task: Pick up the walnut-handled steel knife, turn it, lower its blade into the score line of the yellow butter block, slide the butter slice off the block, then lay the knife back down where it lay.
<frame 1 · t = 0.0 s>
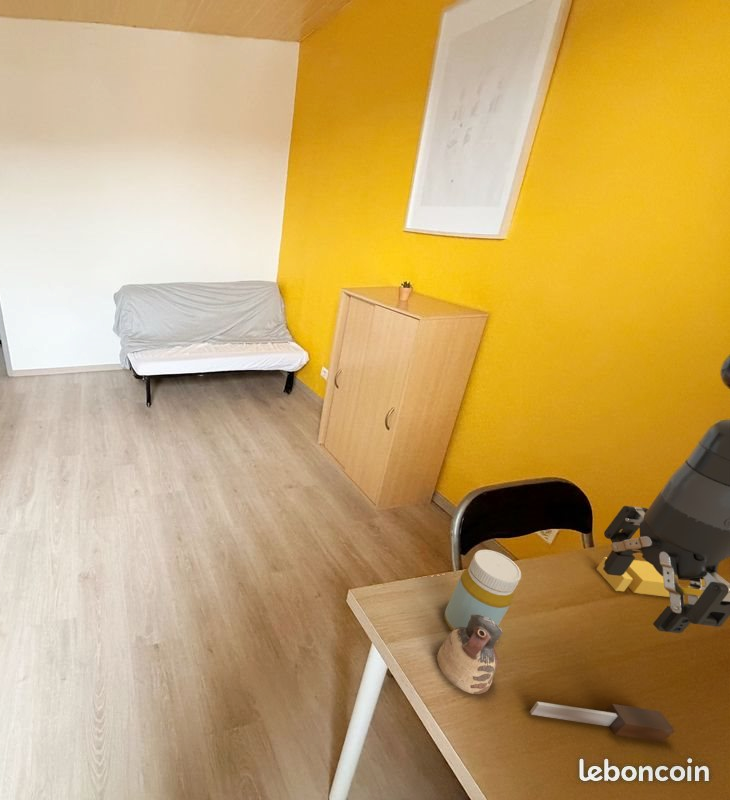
hand: (635, 599, 55), 18 cm above the table, tool pointing down, fingers open, 8 cm apart
bottle: (465, 627, 71), on the table
butter block: (638, 585, 79), on the table
knife: (605, 727, 58), on the table
butter slice: (608, 582, 79), on the table
figurine: (461, 672, 64), on the table
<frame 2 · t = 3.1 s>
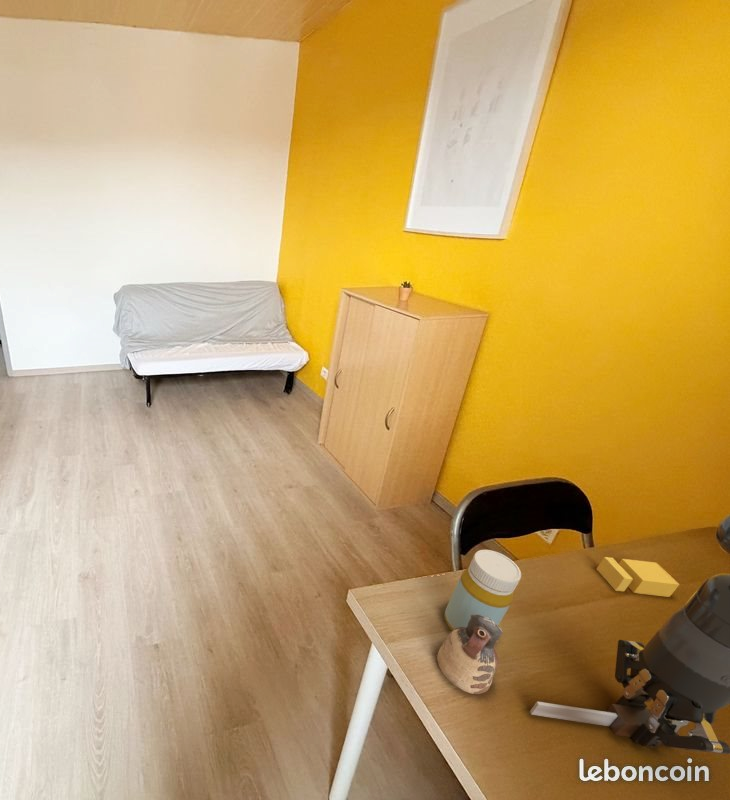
hand: (631, 728, 57), 1 cm above the table, tool pointing down, fingers closed on knife, 2 cm apart
knife: (605, 727, 58), on the table, touching gripper
everything else where it was.
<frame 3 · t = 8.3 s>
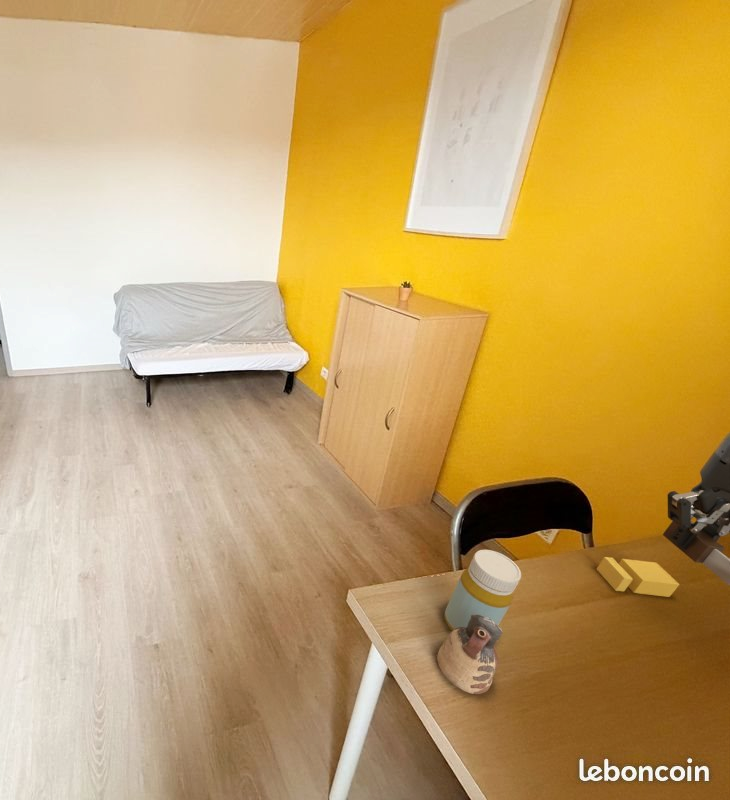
hand: (687, 545, 68), 15 cm above the table, tool pointing down, fingers closed on knife, 2 cm apart
knife: (703, 563, 66), point 14 cm above the table, touching gripper
everything else where it was.
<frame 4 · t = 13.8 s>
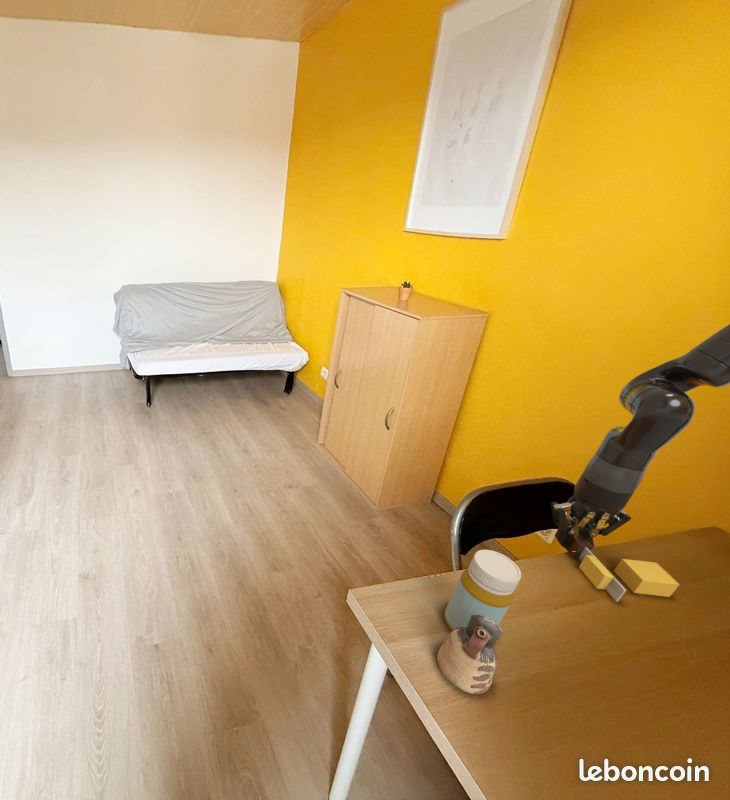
hand: (569, 545, 86), 1 cm above the table, tool pointing down, fingers closed on knife, 2 cm apart
knife: (578, 558, 84), on the table, touching butter slice, gripper
butter slice: (590, 580, 80), on the table, touching knife
everything else where it was.
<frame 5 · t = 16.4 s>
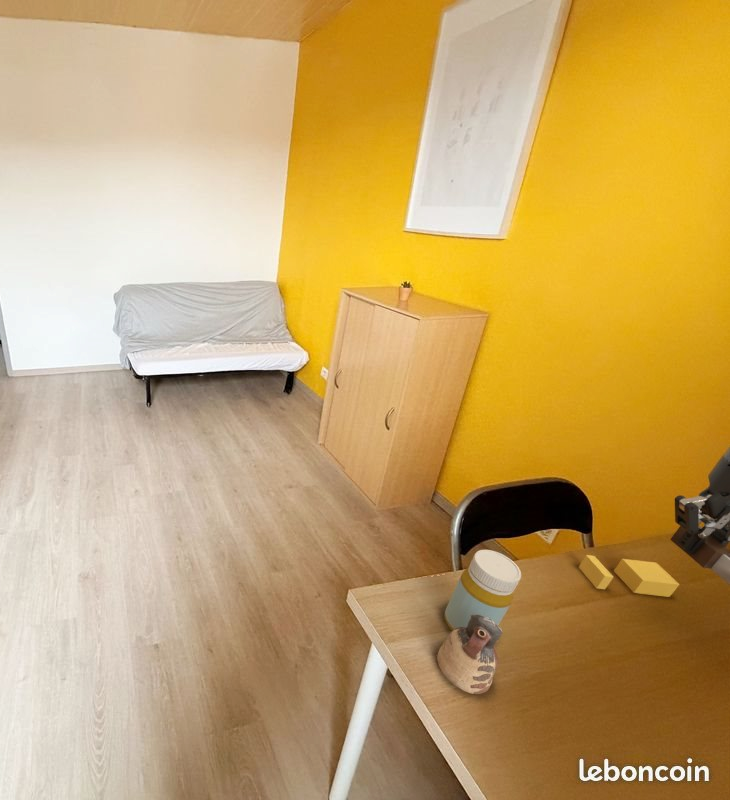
hand: (695, 551, 67), 15 cm above the table, tool pointing down, fingers closed on knife, 2 cm apart
knife: (711, 569, 65), point 14 cm above the table, touching gripper
butter slice: (589, 580, 80), on the table
everything else where it was.
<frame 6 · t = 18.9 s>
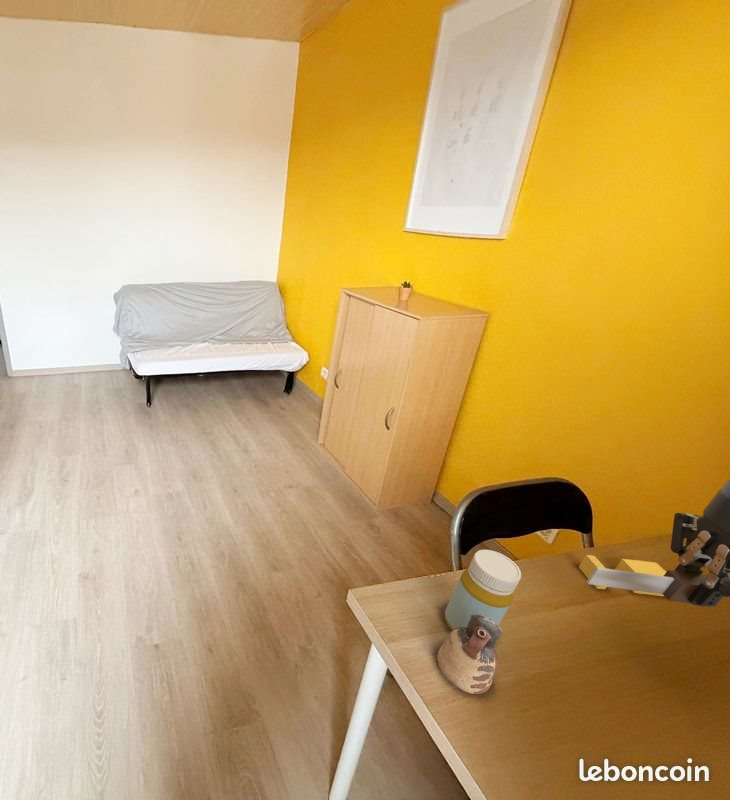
hand: (687, 593, 60), 15 cm above the table, tool pointing down, fingers closed on knife, 2 cm apart
knife: (661, 593, 61), point 14 cm above the table, touching gripper
everything else where it was.
when the fingers open (1 cm above the table, at t = 23.3 s): knife stays where it is, on the table.
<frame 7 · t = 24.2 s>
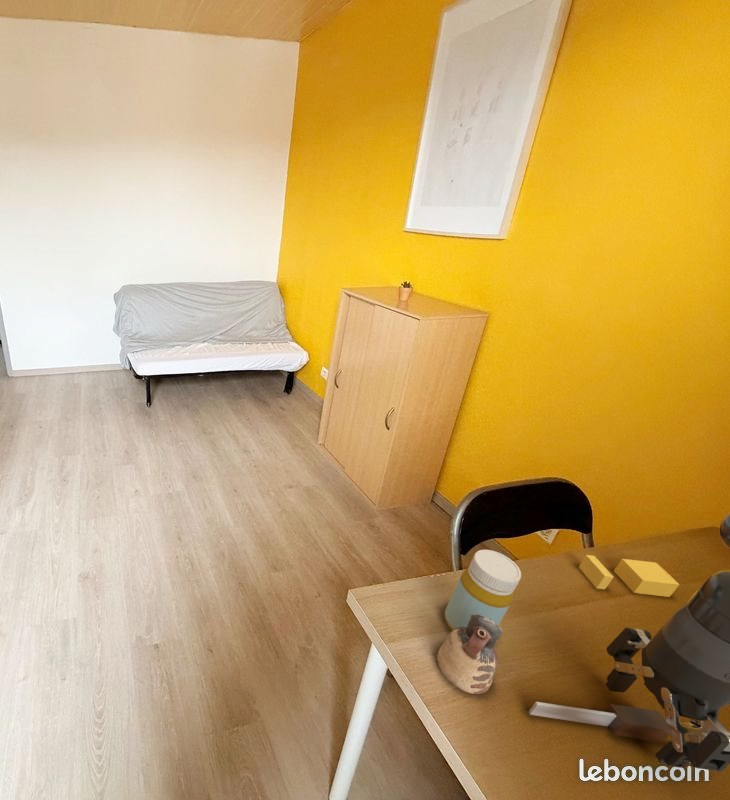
hand: (637, 722, 56), 2 cm above the table, tool pointing down, fingers open, 8 cm apart
knife: (604, 727, 58), on the table
everything else where it was.
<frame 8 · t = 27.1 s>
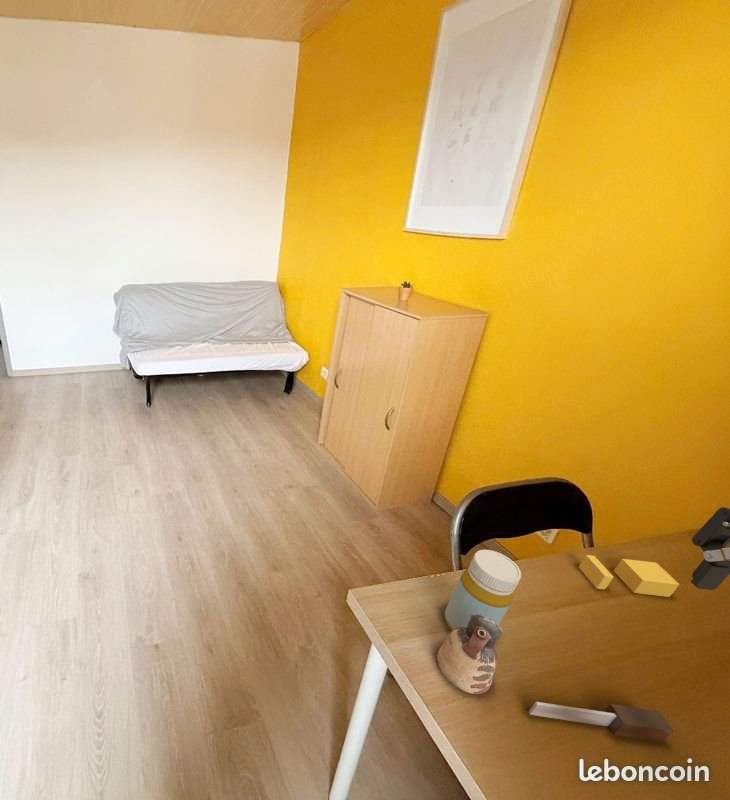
nothing on the table moved.
at the end: butter slice 1.6 cm from the target spot on the table beside the butter block, on the table; butter block moved 0.0 cm from its start; the gripper is holding nothing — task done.
